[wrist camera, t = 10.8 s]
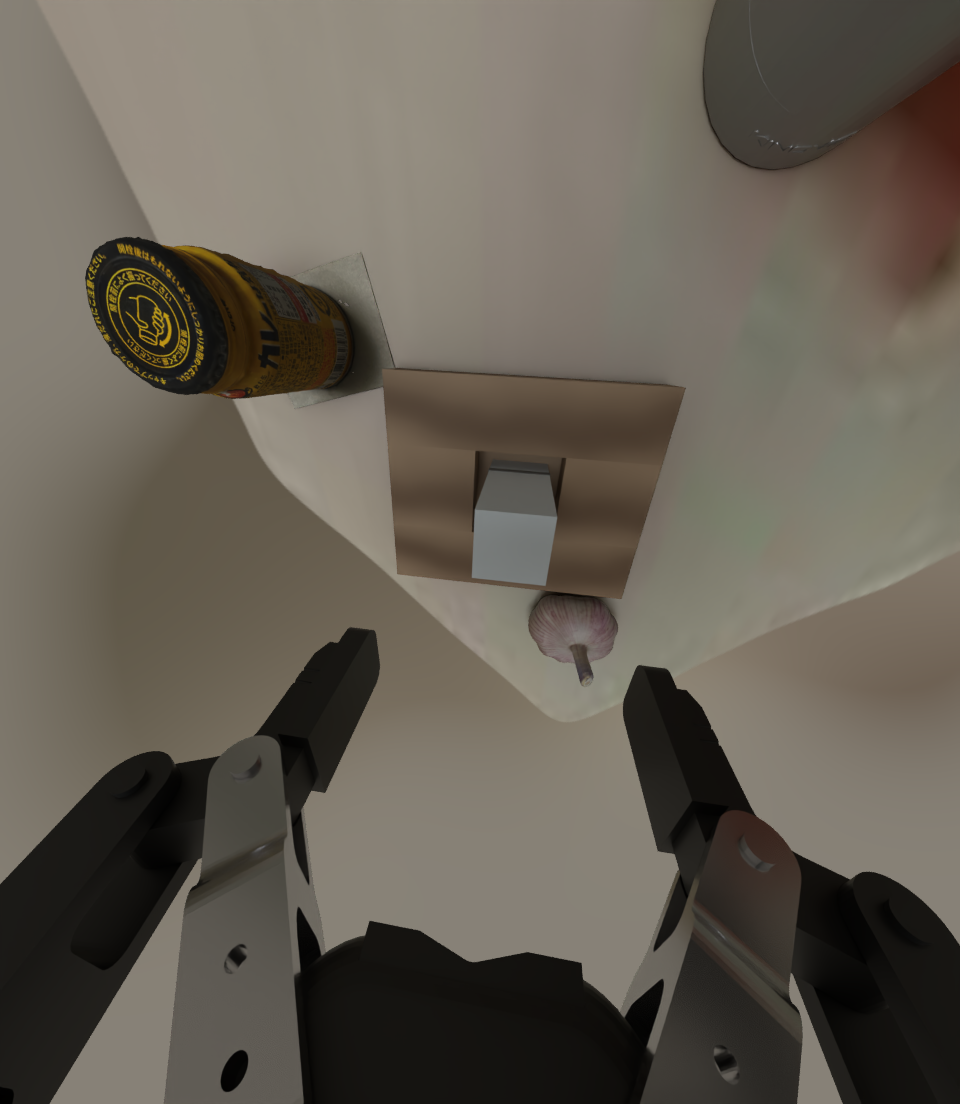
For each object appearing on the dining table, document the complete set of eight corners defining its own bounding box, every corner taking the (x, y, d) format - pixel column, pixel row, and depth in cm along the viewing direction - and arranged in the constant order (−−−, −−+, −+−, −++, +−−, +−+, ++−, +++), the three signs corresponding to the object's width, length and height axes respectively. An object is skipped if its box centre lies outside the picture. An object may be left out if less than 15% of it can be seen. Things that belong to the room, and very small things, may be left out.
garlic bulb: (629, 616, 32) (658, 687, 25) (568, 655, 35) (577, 729, 28) (572, 564, 30) (586, 626, 23) (513, 611, 33) (509, 678, 26)
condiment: (247, 292, 23) (14, 236, 13) (362, 253, 21) (203, 149, 11) (296, 408, 26) (143, 439, 16) (399, 382, 25) (305, 398, 14)
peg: (492, 458, 26) (473, 508, 17) (548, 463, 25) (558, 516, 17) (488, 510, 28) (470, 578, 19) (540, 515, 27) (546, 586, 19)
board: (397, 368, 24) (382, 369, 22) (667, 384, 23) (685, 387, 20) (408, 556, 31) (397, 574, 29) (613, 578, 30) (621, 599, 27)
